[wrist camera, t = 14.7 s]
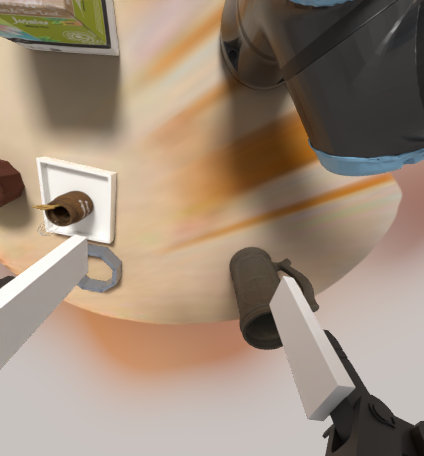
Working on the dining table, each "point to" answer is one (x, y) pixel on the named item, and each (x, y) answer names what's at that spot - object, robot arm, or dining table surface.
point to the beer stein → (262, 294)
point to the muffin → (9, 183)
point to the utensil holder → (67, 209)
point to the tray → (85, 182)
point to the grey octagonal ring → (110, 261)
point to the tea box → (61, 25)
